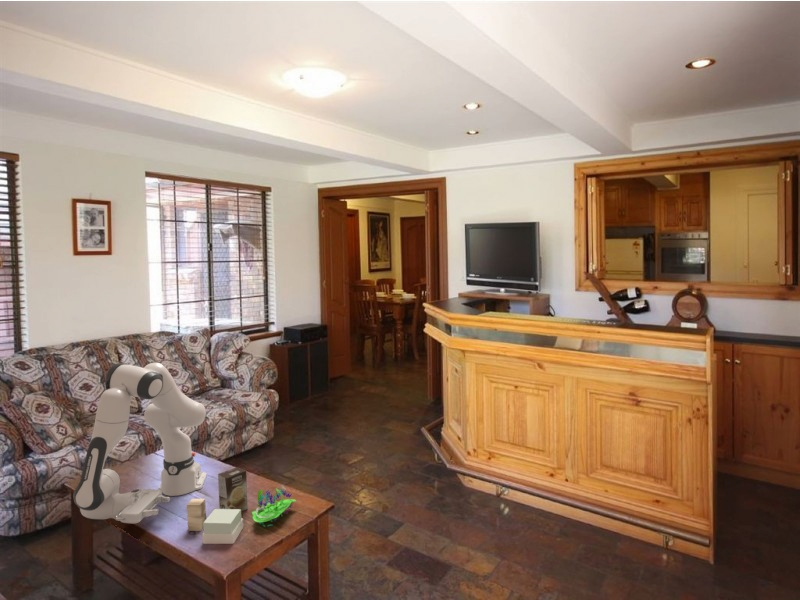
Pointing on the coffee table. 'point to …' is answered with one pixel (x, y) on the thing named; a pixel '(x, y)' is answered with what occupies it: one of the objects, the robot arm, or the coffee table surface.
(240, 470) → the coffee box
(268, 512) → the diorama
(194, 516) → the birch block
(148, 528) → the coffee table surface
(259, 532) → the coffee table surface
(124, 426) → the robot arm
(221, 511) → the top slab
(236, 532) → the bottom slab
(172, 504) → the coffee table surface
